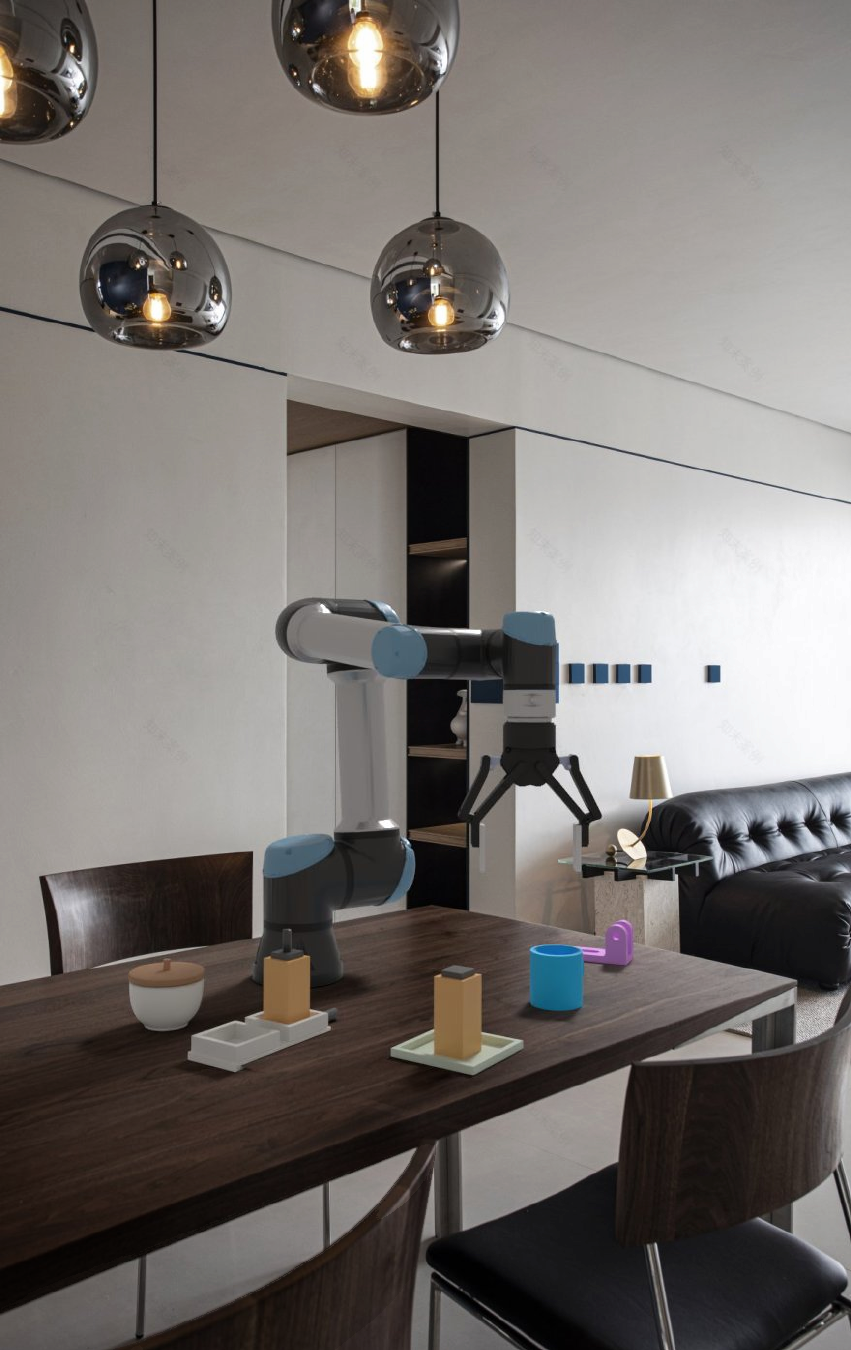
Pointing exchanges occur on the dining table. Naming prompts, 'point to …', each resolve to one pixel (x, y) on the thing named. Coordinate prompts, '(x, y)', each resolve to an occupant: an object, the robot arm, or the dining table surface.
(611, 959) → the bracket
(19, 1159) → the dining table surface
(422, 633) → the robot arm
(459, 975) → the orange capped pillar
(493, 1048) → the tray
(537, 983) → the mug
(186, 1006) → the lidded jar
